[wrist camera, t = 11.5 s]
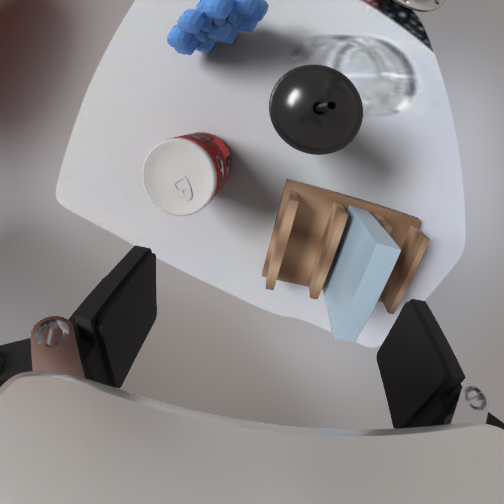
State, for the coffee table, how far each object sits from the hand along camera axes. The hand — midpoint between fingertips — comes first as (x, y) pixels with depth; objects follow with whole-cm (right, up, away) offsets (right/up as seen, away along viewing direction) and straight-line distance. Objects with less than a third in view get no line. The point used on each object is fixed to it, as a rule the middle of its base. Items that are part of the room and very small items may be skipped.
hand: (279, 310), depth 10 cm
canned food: (-7, +14, +27) cm, 31 cm away
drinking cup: (+5, +19, +23) cm, 30 cm away
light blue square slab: (+12, +3, +29) cm, 31 cm away
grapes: (-4, +30, +19) cm, 36 cm away
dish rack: (+12, +3, +30) cm, 32 cm away
